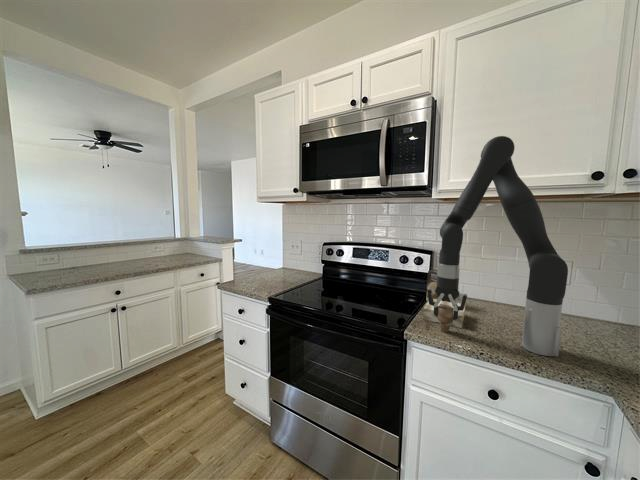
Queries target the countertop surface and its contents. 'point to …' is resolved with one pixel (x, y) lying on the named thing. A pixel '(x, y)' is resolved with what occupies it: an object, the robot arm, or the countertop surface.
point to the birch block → (429, 316)
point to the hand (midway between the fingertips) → (445, 317)
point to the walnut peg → (445, 317)
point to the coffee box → (432, 283)
